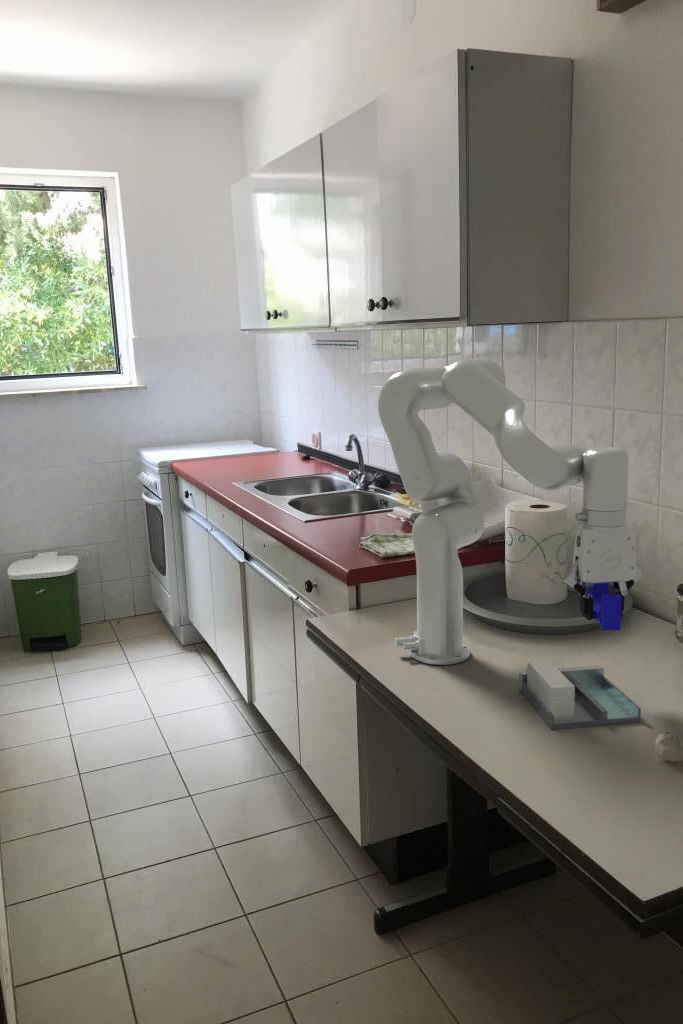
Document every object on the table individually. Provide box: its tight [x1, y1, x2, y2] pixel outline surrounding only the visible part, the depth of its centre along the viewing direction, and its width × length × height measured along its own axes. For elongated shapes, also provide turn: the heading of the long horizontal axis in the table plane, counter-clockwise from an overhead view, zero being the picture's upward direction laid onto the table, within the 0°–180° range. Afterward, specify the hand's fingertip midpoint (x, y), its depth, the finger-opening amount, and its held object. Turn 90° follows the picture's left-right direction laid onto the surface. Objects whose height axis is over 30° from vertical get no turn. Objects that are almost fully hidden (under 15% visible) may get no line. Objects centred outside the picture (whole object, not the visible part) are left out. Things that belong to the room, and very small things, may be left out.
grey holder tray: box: [518, 659, 642, 731], centre depth 150 cm, size 16×16×7 cm
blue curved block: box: [591, 583, 622, 631], centre depth 151 cm, size 12×4×6 cm, turn 174°
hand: (601, 615), depth 151 cm, fingers closed on blue curved block, 4 cm apart
